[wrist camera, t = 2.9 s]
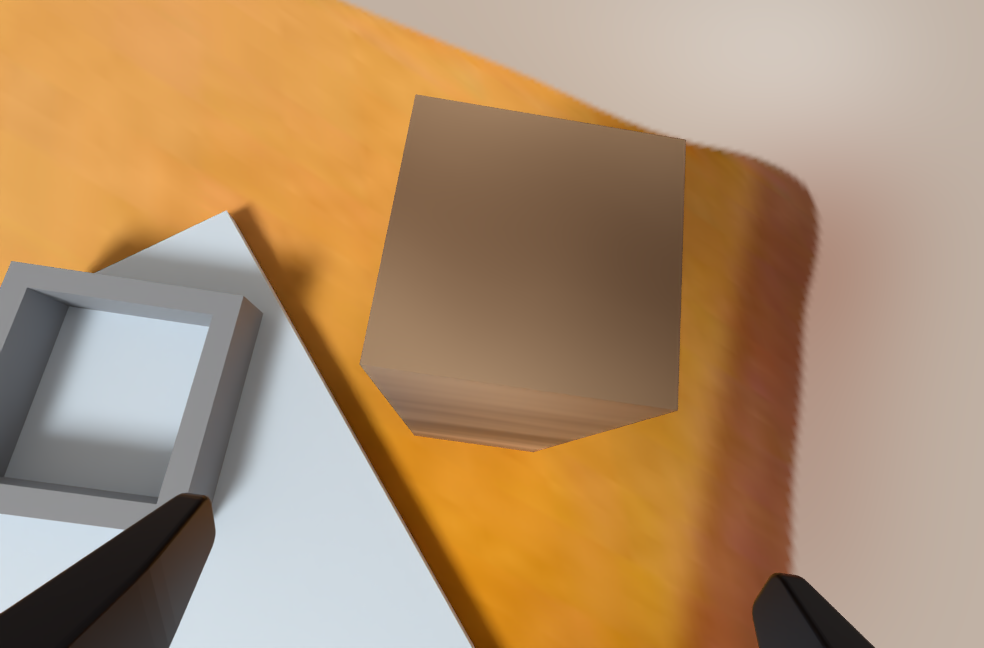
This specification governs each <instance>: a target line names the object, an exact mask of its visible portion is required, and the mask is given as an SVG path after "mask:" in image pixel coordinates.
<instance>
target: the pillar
mask: <svg viewBox="0 0 984 648" xmlns="http://www.w3.org/2000/svg"><path fill="white" fill-rule="evenodd" d="M685 151H686V140H684V139H678V138H672V137H666V136H660V135H654V134H648V133H642V132H636V131H631V130H625V129H619V128H613V127H607V126H601V125H595V124H589V123H583V122H577V121H571V120H565V119H559V118H553V117H547V116H541V115H535V114H529V113H523V112H517V111H511V110H505V109H499V108H493V107H487V106H481V105H475V104H469V103H463V102H457V101H451V100H445V99H439V98H434V97H428V96H422V95H415V100H414V105H413V110H412V115H411V119H410V124H409V129H408V134H407V139H406V144H405V148H404V153H403V158H402V163H401V168H400V172H399V177H398V182H397V187H396V192H395V196H394V201H393V206H392V211H391V216H390V221H389V225H388V230H387V235H386V240H385V245H384V249H383V254H382V259H381V264H380V269H379V273H378V278H377V283H376V288H375V293H374V298H373V302H372V307H371V312H370V317H369V322H368V326H367V331H366V336H365V341H364V346H363V350H362V355H361V360H360V365H361V367H362V368H363V369H364V371H365V372H366V373H367V374H368V376H369V377H370V378H371V380H372V381H373V382H374V384H375V385H376V386H377V387H378V389H379V390H380V391H381V393H382V394H383V395H384V397H385V398H386V399H387V400H388V402H389V403H390V404H391V406H392V407H393V408H394V409H395V411H396V412H397V413H398V415H399V416H400V417H401V419H402V420H403V421H404V422H405V424H406V425H407V426H408V428H409V429H410V430H411V431H412V433H413V434H414V435H416V436H423V437H430V438H437V439H444V440H451V441H459V442H466V443H473V444H480V445H487V446H494V447H501V448H509V449H516V450H523V451H530V452H535V451H538V450H542V449H545V448H549V447H552V446H556V445H559V444H563V443H566V442H570V441H573V440H577V439H580V438H584V437H587V436H591V435H594V434H597V433H601V432H604V431H608V430H611V429H615V428H618V427H622V426H625V425H629V424H632V423H636V422H639V421H643V420H646V419H650V418H653V417H657V416H660V415H664V414H667V413H671V412H674V411H678V385H679V352H680V318H681V285H682V251H683V218H684V184H685Z"/></svg>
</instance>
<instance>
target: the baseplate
mask: <svg viewBox="0 0 984 648" xmlns="http://www.w3.org/2000/svg"><path fill="white" fill-rule="evenodd" d="M181 493H194V494H201V495H206V496H208V497H209V498H210V499H211V502H212V508H213V515H214V522H215V528H216V535H215V541H214V544H213V547H212V549H211V552H210V554H209V556H208V559H207V561H206V563H205V566H204V568H203V571H202V573H201V575H200V578H199V580H198V582H197V585H196V587H195V589H194V592H193V594H192V596H191V599H190V601H189V603H188V606H187V608H186V610H185V613H184V615H183V618H182V620H181V622H180V625H179V627H178V629H177V632H176V634H175V636H174V638H173V640H172V643H171V645H170V647H169V648H475V647H474V645H473V643H472V641H471V640H470V638H469V636H468V634H467V633H466V631H465V629H464V627H463V626H462V624H461V622H460V620H459V618H458V617H457V615H456V613H455V611H454V610H453V608H452V606H451V604H450V602H449V601H448V599H447V597H446V595H445V594H444V592H443V590H442V588H441V586H440V585H439V583H438V581H437V579H436V578H435V576H434V574H433V572H432V570H431V569H430V567H429V565H428V563H427V562H426V560H425V558H424V556H423V554H422V553H421V551H420V549H419V547H418V546H417V544H416V542H415V540H414V538H413V537H412V535H411V533H410V531H409V530H408V528H407V526H406V524H405V522H404V521H403V519H402V517H401V515H400V514H399V512H398V510H397V508H396V507H395V505H394V503H393V501H392V499H391V498H390V496H389V494H388V492H387V491H386V489H385V487H384V485H383V483H382V482H381V480H380V478H379V476H378V475H377V473H376V471H375V469H374V467H373V466H372V464H371V462H370V460H369V459H368V457H367V455H366V453H365V451H364V450H363V448H362V446H361V444H360V443H359V441H358V439H357V437H356V435H355V434H354V432H353V430H352V428H351V427H350V425H349V423H348V421H347V419H346V418H345V416H344V414H343V412H342V411H341V409H340V407H339V405H338V403H337V402H336V400H335V398H334V396H333V395H332V393H331V391H330V389H329V387H328V386H327V384H326V382H325V380H324V379H323V377H322V375H321V373H320V372H319V370H318V368H317V366H316V364H315V363H314V361H313V359H312V357H311V356H310V354H309V352H308V350H307V348H306V347H305V345H304V343H303V341H302V340H301V338H300V336H299V334H298V332H297V331H296V329H295V327H294V325H293V324H292V322H291V320H290V318H289V316H288V315H287V313H286V311H285V309H284V308H283V306H282V304H281V302H280V300H279V299H278V297H277V295H276V293H275V292H274V290H273V288H272V286H271V284H270V283H269V281H268V279H267V277H266V276H265V274H264V272H263V270H262V268H261V267H260V265H259V263H258V261H257V260H256V258H255V256H254V254H253V252H252V251H251V249H250V247H249V245H248V244H247V242H246V240H245V238H244V237H243V235H242V233H241V231H240V229H239V228H238V226H237V224H236V222H235V221H234V219H233V218H232V217H231V216H230V214H229V213H228V212H227V211H224V212H222V213H220V214H218V215H216V216H214V217H212V218H210V219H207V220H205V221H203V222H201V223H199V224H197V225H195V226H193V227H191V228H188V229H186V230H184V231H182V232H180V233H178V234H176V235H174V236H172V237H169V238H167V239H165V240H163V241H161V242H159V243H157V244H155V245H153V246H151V247H148V248H146V249H144V250H142V251H140V252H138V253H136V254H134V255H132V256H129V257H127V258H125V259H123V260H121V261H119V262H117V263H115V264H113V265H110V266H108V267H106V268H104V269H102V270H100V271H98V272H96V273H87V272H81V271H74V270H67V269H61V268H54V267H47V266H40V265H34V264H27V263H20V262H14V261H11V264H10V266H9V268H8V271H7V273H6V275H5V278H4V280H3V283H2V285H1V287H0V613H2V612H3V611H5V610H6V609H8V608H9V607H11V606H12V605H14V604H15V603H17V602H18V601H20V600H21V599H23V598H24V597H26V596H27V595H28V594H30V593H31V592H33V591H34V590H36V589H37V588H39V587H40V586H42V585H43V584H45V583H46V582H48V581H49V580H51V579H52V578H54V577H55V576H57V575H58V574H60V573H61V572H63V571H64V570H66V569H67V568H69V567H70V566H72V565H73V564H75V563H76V562H78V561H79V560H81V559H82V558H84V557H85V556H87V555H88V554H90V553H91V552H93V551H94V550H96V549H97V548H99V547H100V546H102V545H103V544H105V543H106V542H108V541H109V540H111V539H112V538H114V537H115V536H117V535H118V534H120V533H121V532H123V531H124V530H125V529H127V528H128V527H130V526H131V525H133V524H134V523H136V522H137V521H139V520H140V519H142V518H143V517H145V516H146V515H148V514H149V513H151V512H152V511H154V510H155V509H157V508H158V507H160V506H161V505H163V504H164V503H166V502H167V501H169V500H170V499H172V498H173V497H175V496H176V495H178V494H181Z"/></svg>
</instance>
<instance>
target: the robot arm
mask: <svg viewBox="0 0 984 648" xmlns="http://www.w3.org/2000/svg"><path fill="white" fill-rule="evenodd" d="M215 535H216V528H215V522H214V515H213V508H212V502H211V499H210V498H209V497H208V496H206V495H201V494H194V493H181V494H178V495H176V496H175V497H173V498H172V499H170V500H169V501H167V502H166V503H164V504H163V505H161V506H160V507H158V508H157V509H155V510H154V511H152V512H151V513H149V514H148V515H146V516H145V517H143V518H142V519H140V520H139V521H137V522H136V523H134V524H133V525H131V526H130V527H128V528H127V529H125V530H124V531H123V532H121V533H120V534H118V535H117V536H115V537H114V538H112V539H111V540H109V541H108V542H106V543H105V544H103V545H102V546H100V547H99V548H97V549H96V550H94V551H93V552H91V553H90V554H88V555H87V556H85V557H84V558H82V559H81V560H79V561H78V562H76V563H75V564H73V565H72V566H70V567H69V568H67V569H66V570H64V571H63V572H61V573H60V574H58V575H57V576H55V577H54V578H52V579H51V580H49V581H48V582H46V583H45V584H43V585H42V586H40V587H39V588H37V589H36V590H34V591H33V592H31V593H30V594H28V595H27V596H26V597H24V598H23V599H21V600H20V601H18V602H17V603H15V604H14V605H12V606H11V607H9V608H8V609H6V610H5V611H3V612H2V613H0V648H169V647H170V645H171V643H172V640H173V638H174V636H175V634H176V632H177V629H178V627H179V625H180V622H181V620H182V618H183V615H184V613H185V610H186V608H187V606H188V603H189V601H190V599H191V596H192V594H193V592H194V589H195V587H196V585H197V582H198V580H199V578H200V575H201V573H202V571H203V568H204V566H205V563H206V561H207V559H208V556H209V554H210V552H211V549H212V547H213V544H214V541H215ZM752 615H753V622H754V626H755V631H756V636H757V640H758V645H759V648H875V647H874V646H873V645H872V644H871V643H870V642H869V641H868V640H866V639H865V638H864V637H863V636H862V635H861V634H860V633H859V632H858V631H857V630H856V629H855V628H854V627H853V626H852V625H851V624H850V623H849V622H848V621H847V620H846V619H845V618H844V617H843V616H842V615H841V614H840V613H839V612H837V610H836V609H835V608H834V607H832V605H831V604H829V602H827V601H826V600H825V599H824V598H823V597H822V596H821V595H820V594H819V593H818V592H817V591H816V590H815V589H814V588H813V587H812V586H811V585H810V584H809V583H808V582H807V581H806V580H805V579H803V578H802V577H800V576H797V575H791V574H784V573H774V574H772V575H771V576H770V577H769V579H768V580H767V582H766V584H765V585H764V587H763V588H762V590H761V591H760V593H759V595H758V596H757V598H756V599H755V601H754V604H753V609H752Z"/></svg>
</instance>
